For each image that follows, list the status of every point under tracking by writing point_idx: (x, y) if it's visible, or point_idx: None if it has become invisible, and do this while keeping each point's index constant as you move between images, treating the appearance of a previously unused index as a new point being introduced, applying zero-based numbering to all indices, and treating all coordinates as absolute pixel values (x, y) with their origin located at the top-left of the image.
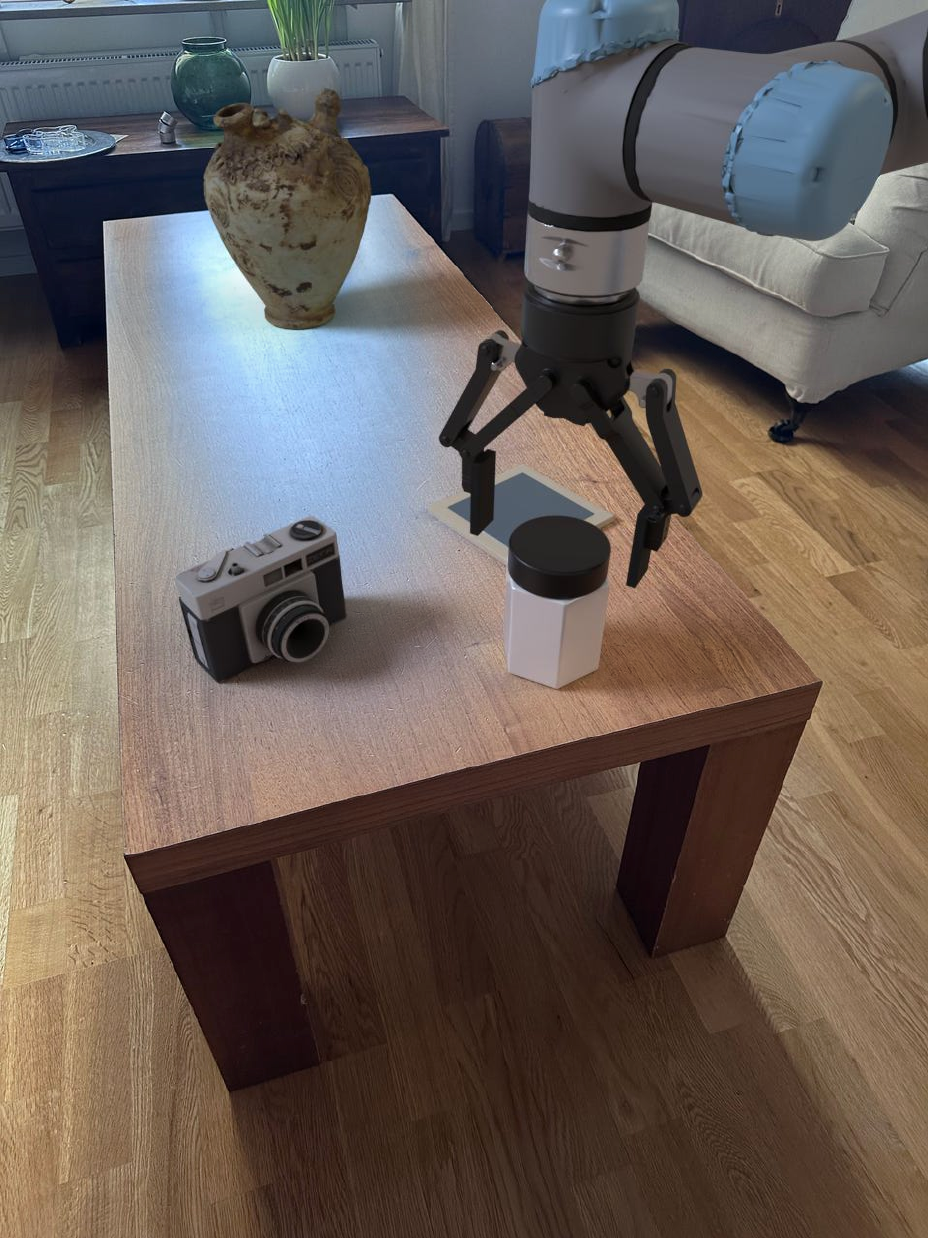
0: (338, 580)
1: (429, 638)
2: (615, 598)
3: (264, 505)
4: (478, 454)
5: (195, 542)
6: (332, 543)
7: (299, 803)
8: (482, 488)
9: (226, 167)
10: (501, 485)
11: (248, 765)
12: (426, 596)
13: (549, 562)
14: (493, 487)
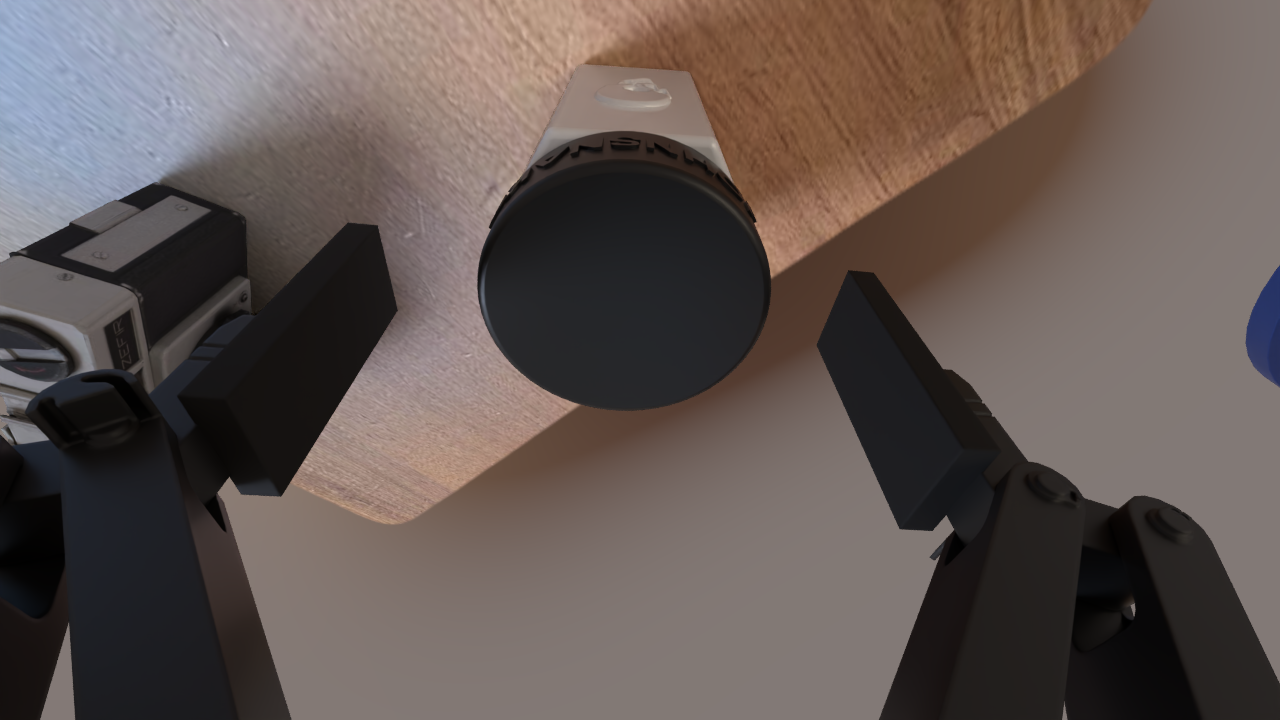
0: (183, 272)
1: (411, 208)
2: None
3: None
4: (209, 470)
5: None
6: (104, 326)
7: (475, 472)
8: (325, 393)
9: None
10: None
11: (395, 458)
12: (308, 86)
13: (630, 386)
14: (322, 302)
